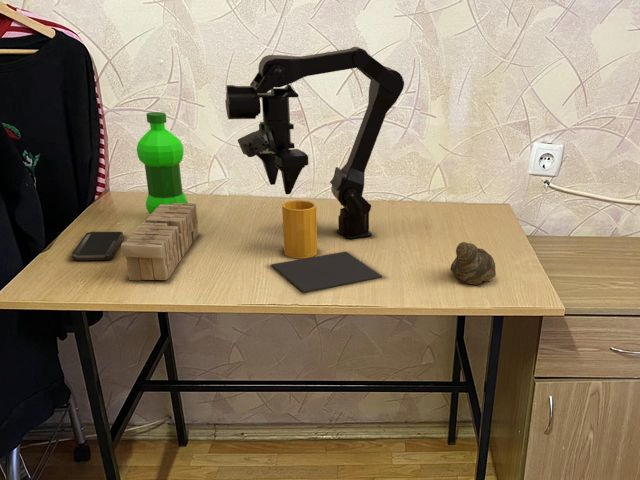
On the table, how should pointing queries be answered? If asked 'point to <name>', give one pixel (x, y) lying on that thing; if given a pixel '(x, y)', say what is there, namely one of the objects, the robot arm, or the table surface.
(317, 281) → the mat
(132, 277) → the block tower
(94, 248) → the phone
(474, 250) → the seashell
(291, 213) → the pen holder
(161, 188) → the plastic bottle
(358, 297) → the table surface
